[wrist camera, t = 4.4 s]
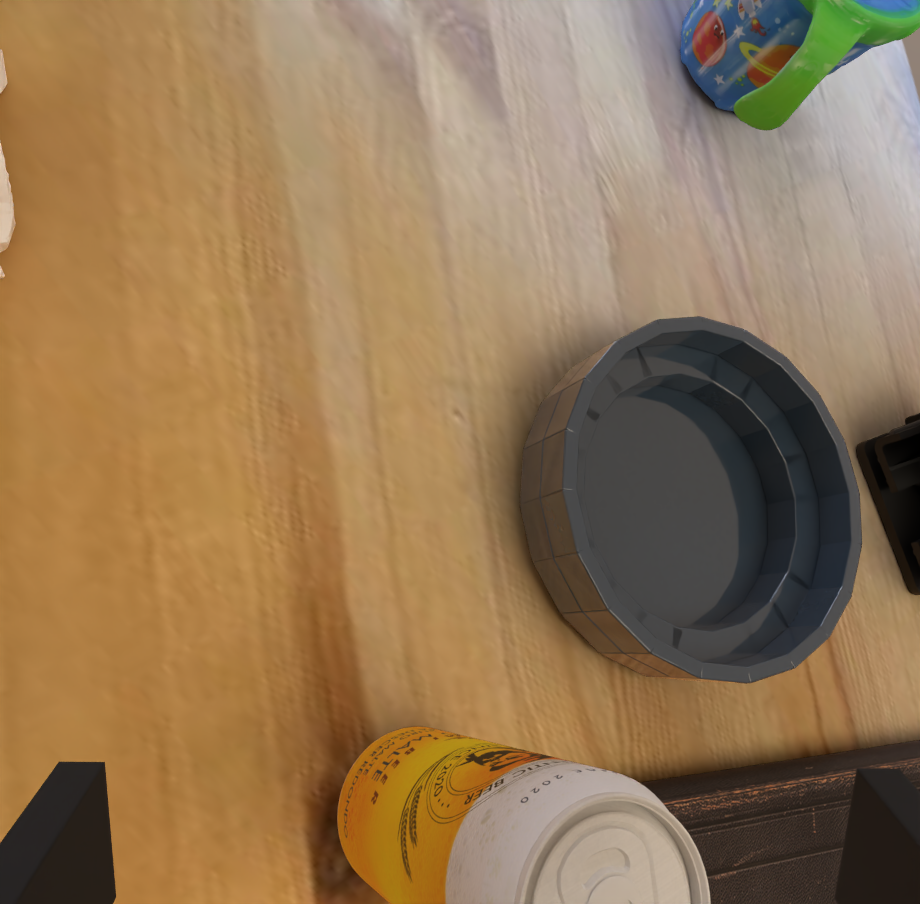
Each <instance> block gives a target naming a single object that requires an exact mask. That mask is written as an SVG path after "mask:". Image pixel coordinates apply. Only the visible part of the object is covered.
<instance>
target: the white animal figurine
mask: <svg viewBox="0 0 920 904" xmlns="http://www.w3.org/2000/svg"><path fill="white" fill-rule="evenodd" d="M6 85H7V77H6V71H5V65H4V58H3V51H2V50H1V49H0V93H1V92H2V91H3V88H4V89H5V87H6ZM8 178H9V174H8V172H7V171H6V164H5V159H4V155H3V151H2V147H1V142H0V253H1V252H2V251H4V250H5V249H7V247H8V245H9V242H10V240H11V237H12V233H13V231H14V227H15V225H16V223H15V217H14V208H13V207H14V203H13V201H12V200H13V198H12V193H11V184H10V182H9V180H8ZM3 277H5V275H4V273H3V270H2V268H1V266H0V279H2V278H3Z"/></svg>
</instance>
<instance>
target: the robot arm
mask: <svg viewBox="0 0 920 904" xmlns="http://www.w3.org/2000/svg"><path fill="white" fill-rule="evenodd" d="M115 898H116V890H115V878H114V866H113V854H112V843H111V831H110V819H109V807H108V795H107V783H106V772H105V762H59V763H58V764H57V765H56V767H55V768H54V770H53V771H52V772H51V774H50V775H49V776H48V778H47V779H46V781H45V782H44V783H43V785H42V786H41V788H40V789H39V790H38V792H37V793H36V794H35V796H34V797H33V799H32V800H31V801H30V803H29V804H28V806H27V807H26V808H25V810H24V811H23V812H22V814H21V815H20V817H19V818H18V819H17V821H16V822H15V824H14V825H13V826H12V828H11V829H10V831H9V832H8V833H7V835H6V836H5V837H4V839H3V840H2V842H1V843H0V904H113V902H114V900H115ZM834 898H835V900H836V902H837V903H838V904H920V792H919V790H918V789H917V788H916V787H915V786H914V785H913V784H912V783H911V781H910V780H909V779H908V778H907V777H906V776H905V775H904V774H903V773H902V771H901V770H900V769H878V768H857V771H856V776H855V782H854V788H853V794H852V799H851V805H850V811H849V816H848V822H847V828H846V834H845V839H844V845H843V851H842V857H841V862H840V868H839V874H838V880H837V885H836V891H835V897H834Z"/></svg>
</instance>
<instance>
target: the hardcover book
mask: <svg viewBox="0 0 920 904" xmlns="http://www.w3.org/2000/svg"><path fill="white" fill-rule="evenodd" d="M857 768H878V769H900V770H901V771H902V773H903V774H904V775H905V776H906V777H907V778H908V779H909V780H910V781H911V783H912V784H913V785H914V786H915V787H916V788H917V789H918V790H919V792H920V740H918V741H912V742H905V743H899V744H892V745H885V746H879V747H872V748H866V749H859V750H853V751H846V752H839V753H833V754H826V755H820V756H813V757H806V758H800V759H793V760H787V761H780V762H773V763H767V764H760V765H754V766H747V767H741V768H734V769H727V770H721V771H714V772H708V773H701V774H694V775H688V776H681V777H675V778H668V779H662V780H655V781H648V782H642V783H640V784H642V785H643V786H645V787H646V788H647V789H649V790H650V791H651V792H652V793H653V794H655V796H656V797H657V798H658V799H659V800H660V801H661V802H662V803H663V804H664V805H665V807H666V808H667V809H668V811H669V812H670V813H671V814H672V815H673V816H674V817H675V818H676V819H677V820H678V821H679V822H680V823H681V824H682V825H683V827H684V828H685V829H686V831H687V832H688V833H689V835H690V837H691V838H692V840H693V842H694V843H695V845H696V847H697V850H698V852H699V854H700V856H701V859H702V862H703V865H704V868H705V871H706V876H707V880H708V885H709V891H710V902H711V904H838V903H837V902H836V900H835V898H834V897H835V891H836V885H837V880H838V874H839V868H840V862H841V857H842V851H843V845H844V839H845V834H846V828H847V822H848V816H849V811H850V805H851V799H852V794H853V788H854V782H855V776H856V771H857Z"/></svg>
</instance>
